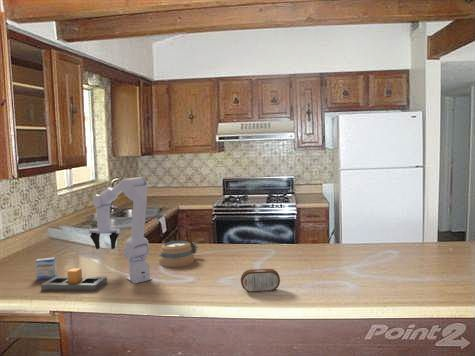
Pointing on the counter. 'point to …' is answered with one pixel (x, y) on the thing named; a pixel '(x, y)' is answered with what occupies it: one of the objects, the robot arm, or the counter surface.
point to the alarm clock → (177, 253)
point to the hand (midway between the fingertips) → (105, 248)
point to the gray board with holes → (74, 284)
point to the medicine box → (46, 268)
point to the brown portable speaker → (260, 280)
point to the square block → (74, 275)
